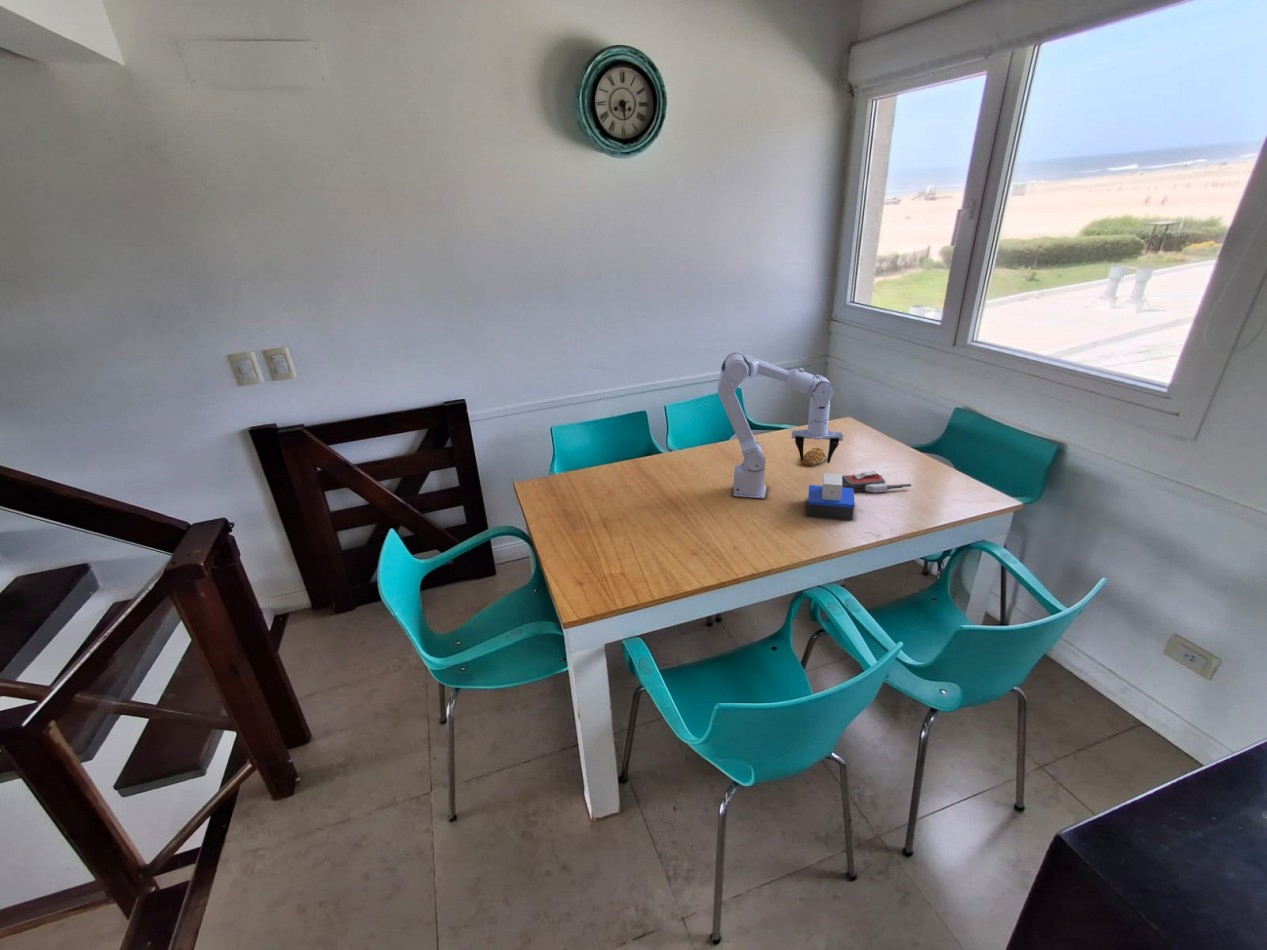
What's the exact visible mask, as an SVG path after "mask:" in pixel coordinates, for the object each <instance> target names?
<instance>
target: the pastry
mask: <svg viewBox="0 0 1267 950" xmlns="http://www.w3.org/2000/svg"><path fill="white" fill-rule="evenodd" d="M827 457H828V455H827V454H826V452H825V450H824V449H822V448H821V447H813V448H812V449H810V450H808V451H806V453H804V454H803V461H802V463H803V465H807V466H817V465H820V464H821V463H823V462H825V460H827Z"/></svg>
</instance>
